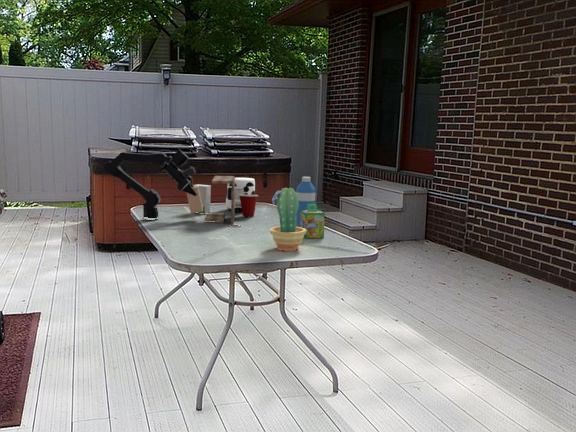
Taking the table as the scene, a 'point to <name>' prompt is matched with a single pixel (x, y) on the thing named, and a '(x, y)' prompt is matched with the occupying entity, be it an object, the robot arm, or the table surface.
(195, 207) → the terracotta box
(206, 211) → the skincare box
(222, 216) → the shelf
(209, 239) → the table surface
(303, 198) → the water bottle
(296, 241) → the potted cactus
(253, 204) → the plastic cup
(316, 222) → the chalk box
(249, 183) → the milk container
